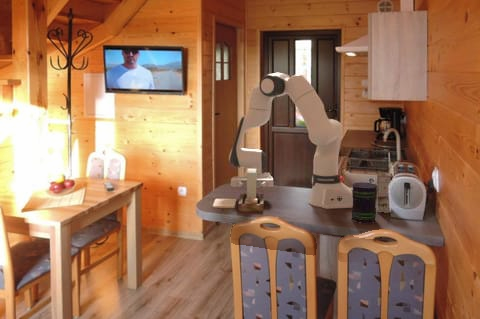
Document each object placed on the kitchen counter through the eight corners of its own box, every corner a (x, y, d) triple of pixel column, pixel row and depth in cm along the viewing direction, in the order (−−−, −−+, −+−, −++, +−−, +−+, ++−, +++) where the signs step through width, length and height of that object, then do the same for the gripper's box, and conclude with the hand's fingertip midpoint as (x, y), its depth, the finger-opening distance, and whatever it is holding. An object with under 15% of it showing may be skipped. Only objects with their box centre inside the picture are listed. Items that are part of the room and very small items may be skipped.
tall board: (256, 201, 234) (256, 168, 231) (255, 207, 224) (255, 172, 221) (247, 201, 234) (247, 168, 231) (246, 207, 224) (246, 172, 221)
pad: (236, 200, 236) (236, 199, 236) (234, 207, 223) (234, 206, 223) (215, 200, 236) (215, 198, 236) (212, 207, 224) (212, 205, 223)
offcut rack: (263, 201, 235) (263, 194, 234) (263, 211, 217) (263, 203, 216) (240, 200, 235) (240, 193, 235) (238, 211, 217) (238, 203, 217)
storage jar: (373, 217, 208) (374, 182, 206) (378, 224, 199) (379, 188, 196) (349, 216, 209) (350, 182, 207) (353, 223, 199) (354, 187, 197)
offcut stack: (257, 208, 222) (257, 198, 221) (257, 210, 219) (257, 200, 218) (244, 208, 222) (244, 198, 221) (244, 210, 219) (244, 199, 218)
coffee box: (392, 213, 214) (394, 177, 211) (376, 212, 215) (378, 176, 213) (390, 207, 223) (392, 172, 220) (375, 207, 224) (377, 172, 221)
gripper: (231, 172, 241) (229, 178, 227) (273, 173, 240) (273, 179, 226) (231, 185, 242) (229, 192, 228) (273, 185, 241) (273, 192, 227)
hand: (251, 185), depth 227 cm, fingers open, 8 cm apart
